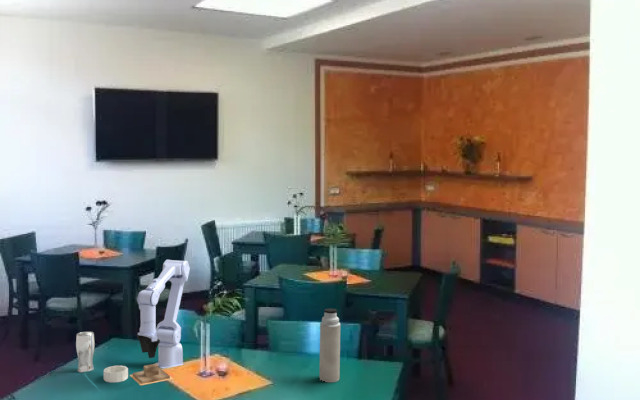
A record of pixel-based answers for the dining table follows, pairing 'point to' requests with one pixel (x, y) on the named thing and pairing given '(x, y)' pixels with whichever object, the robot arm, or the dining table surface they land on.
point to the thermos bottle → (330, 346)
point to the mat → (148, 383)
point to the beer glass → (85, 351)
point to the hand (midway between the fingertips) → (148, 354)
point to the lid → (151, 374)
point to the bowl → (115, 373)
